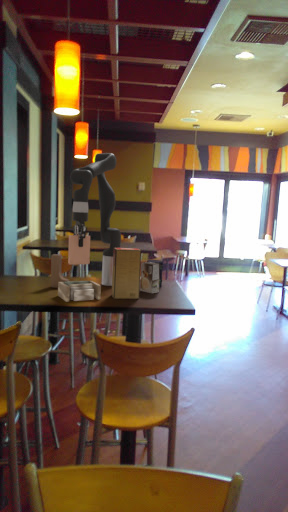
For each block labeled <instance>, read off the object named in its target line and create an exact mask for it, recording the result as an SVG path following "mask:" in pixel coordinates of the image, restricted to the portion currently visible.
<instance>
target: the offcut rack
mask: <svg viewBox="0 0 288 512" xmlns="http://www.w3.org/2000/svg"><path fill="white" fill-rule="evenodd" d="M101 290H102V284H99V283H97V282H95V281H93V280H80V281H79V280H75V281H74V280H73V281H69V282H58V288H57V296H58V297H59V298H60V299H62V300H63V301H64V302H66V303H67V302H69V303H70V301H74V302H77V301H80V302H81V301H90V300H91V301H93V300H95V299H96V300H99V301H100V300H101V295H102V293H101V292H102V291H101Z"/></svg>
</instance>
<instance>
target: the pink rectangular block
mask: <svg viewBox="0 0 288 512" xmlns="http://www.w3.org/2000/svg"><path fill="white" fill-rule="evenodd" d="M78 242H79V238H78V235H74V234H72V235H71V234H69V235H68V252H67V253H68V258H67V259H68V260H67V261H68V262H67V264H68V265H90V259H91V258H90V257H91V235H87V234H86V237H85V238H84V239H83V247H79V246H78Z"/></svg>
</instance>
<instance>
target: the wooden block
mask: <svg viewBox="0 0 288 512" xmlns="http://www.w3.org/2000/svg"><path fill="white" fill-rule="evenodd" d="M62 255H63V254H59V253H57V254H56V253H53V254H51V257H50V259H51V260H50V288H53V289H54V288H55V289H58V282H70V280H69V279H68V278H65V277H64V276H63V274H62V264H63V263H62V262H63V261H62V259H63V258H62V257H63V256H62Z"/></svg>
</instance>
